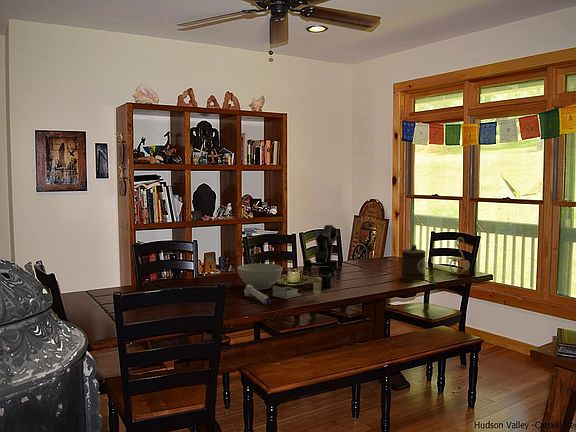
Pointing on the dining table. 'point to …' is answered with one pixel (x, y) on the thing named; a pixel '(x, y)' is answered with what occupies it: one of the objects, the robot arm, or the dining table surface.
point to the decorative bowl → (260, 275)
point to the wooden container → (413, 264)
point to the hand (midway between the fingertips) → (318, 277)
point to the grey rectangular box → (285, 292)
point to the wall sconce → (465, 263)
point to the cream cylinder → (317, 289)
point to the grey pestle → (256, 294)
